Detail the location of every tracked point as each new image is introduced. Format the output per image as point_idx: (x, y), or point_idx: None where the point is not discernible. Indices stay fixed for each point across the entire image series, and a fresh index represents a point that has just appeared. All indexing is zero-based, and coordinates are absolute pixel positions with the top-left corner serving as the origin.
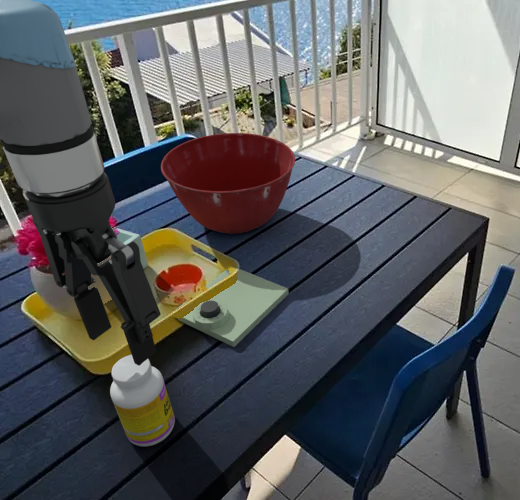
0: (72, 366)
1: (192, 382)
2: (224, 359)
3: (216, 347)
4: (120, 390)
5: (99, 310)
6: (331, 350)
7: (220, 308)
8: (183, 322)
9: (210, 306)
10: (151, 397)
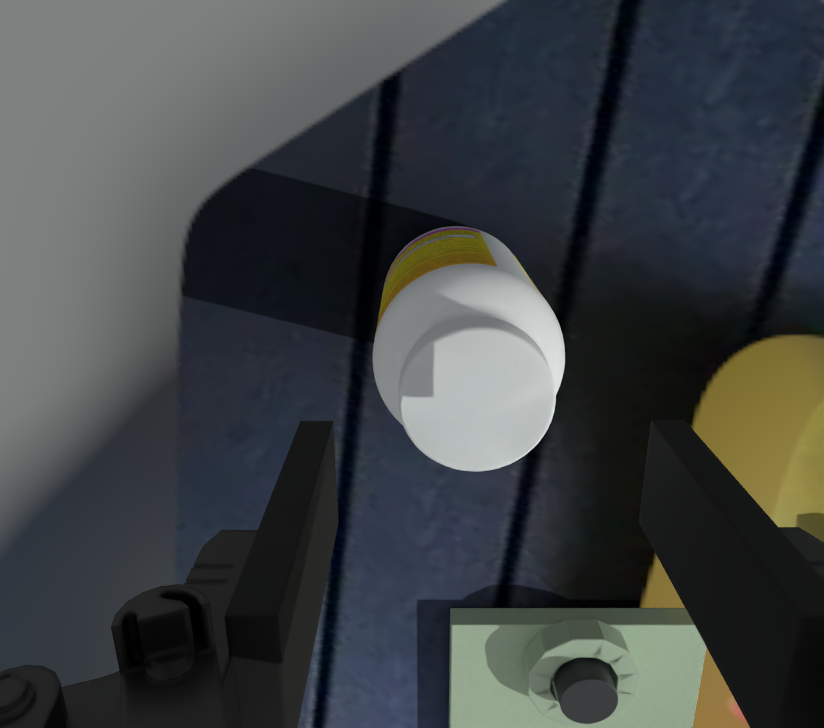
0: None
1: None
2: (444, 564)
3: (496, 584)
4: (475, 309)
5: (698, 591)
6: None
7: None
8: (657, 608)
9: (584, 702)
10: (373, 350)
